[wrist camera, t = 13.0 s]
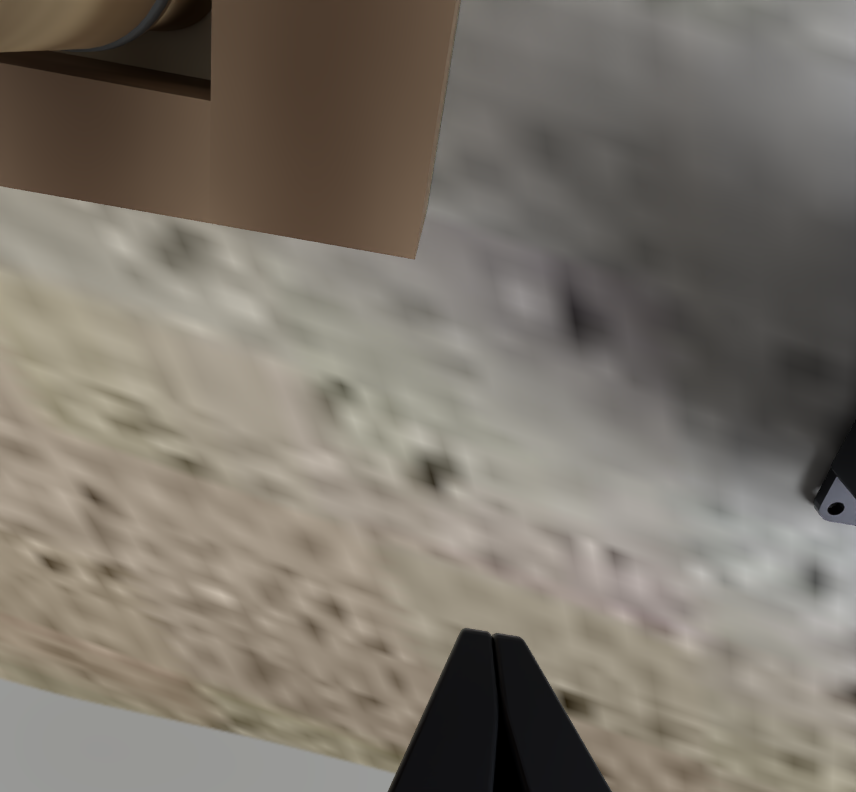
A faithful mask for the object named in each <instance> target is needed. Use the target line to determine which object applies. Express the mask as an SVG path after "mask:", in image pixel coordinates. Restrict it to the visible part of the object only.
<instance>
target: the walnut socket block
mask: <svg viewBox="0 0 856 792" xmlns="http://www.w3.org/2000/svg"><path fill="white" fill-rule="evenodd" d="M460 3H461V0H212V10H211V11H210V12H209V13H208V14H207V15H206V16H205V17H204V18H202V19H201V20H200V21H198V22H197V23H195V24H193V25H191V26H189V27H186V28H184V29H180V30H174V31H147V32H146V33H145V34H143V35H142V36H140V37H138V38H136V39H135V40H133V41H131V42H129V43H127V44H125V45H123V46H120V47H117V48H114V49H110V50H105V51H96V52H68V51H60V50H45V51H21V52H0V186H3V187H8V188H14V189H20V190H25V191H31V192H37V193H42V194H48V195H54V196H59V197H65V198H71V199H76V200H82V201H88V202H93V203H99V204H104V205H110V206H116V207H121V208H127V209H133V210H138V211H144V212H150V213H155V214H161V215H167V216H172V217H178V218H184V219H189V220H195V221H201V222H206V223H212V224H217V225H223V226H229V227H234V228H240V229H246V230H251V231H257V232H263V233H268V234H274V235H280V236H285V237H291V238H297V239H302V240H308V241H313V242H319V243H325V244H330V245H336V246H342V247H347V248H353V249H359V250H364V251H370V252H376V253H381V254H387V255H393V256H398V257H404V258H409V259H415V256H416V252H417V248H418V244H419V240H420V236H421V232H422V228H423V224H424V220H425V216H426V212H427V206H428V200H429V194H430V188H431V181H432V175H433V169H434V163H435V157H436V151H437V144H438V138H439V132H440V126H441V120H442V114H443V107H444V101H445V95H446V89H447V83H448V77H449V70H450V64H451V58H452V52H453V46H454V40H455V33H456V27H457V21H458V15H459V9H460Z"/></svg>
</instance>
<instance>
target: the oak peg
mask: <svg viewBox="0 0 856 792" xmlns="http://www.w3.org/2000/svg"><path fill="white" fill-rule="evenodd" d="M211 10H212V0H0V52H21V51H45V50H60V51H68V52H96V51H105V50H110V49H114V48H117V47H120V46H123V45H125V44H127V43H129V42H131V41H133V40H135V39H136V38H138V37H140V36H142V35H143V34H145V33H146V32H147V31H174V30H180V29H184V28H186V27H189V26H191V25H193V24H195V23H197V22H198V21H200V20H201V19H202V18H204V17H205V16H206V15H207V14H208V13H209V12H210V11H211Z"/></svg>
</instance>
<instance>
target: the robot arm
mask: <svg viewBox="0 0 856 792" xmlns="http://www.w3.org/2000/svg"><path fill="white" fill-rule="evenodd" d="M835 502H838V503H837V504H836V505H835V506H833V507H829V506H830V505H831V504H833V503H835ZM814 507H815V509H816V511H817V512H818V513H819V515H820V516H821V517H822V518H823V519H825V520H827V521H831V522H837V523H843V524H849V525H855V526H856V420H855V422H854V424H853V426H852V428H851V430H850V432H849V433H848V435H847V437H846V439H845V441H844V443H843V445H842V446H841V448H840V450H839V452H838V454H837V456H836V458H835V460H834V461H833V463H832V468H831V469H830V471H829V473H828V475H827V477H826V479H825V481H824V483H823V484H822V486H821V488H820V490H819V492H818V494H817V496H816V497H815V500H814ZM388 792H612V791H611V789H610V788H609V786H608V784H607V783H606V781H605V779H604V777H603V776H602V774H601V772H600V770H599V769H598V767H597V765H596V764H595V762H594V760H593V758H592V757H591V755H590V753H589V751H588V750H587V748H586V746H585V745H584V743H583V741H582V739H581V738H580V736H579V734H578V732H577V731H576V729H575V727H574V726H573V724H572V722H571V720H570V719H569V717H568V715H567V713H566V712H565V710H564V708H563V707H562V705H561V703H560V701H559V700H558V698H557V696H556V694H555V693H554V691H553V689H552V688H551V686H550V684H549V682H548V681H547V679H546V677H545V675H544V674H543V672H542V670H541V669H540V667H539V665H538V663H537V662H536V660H535V658H534V656H533V655H532V653H531V651H530V650H529V648H528V646H527V644H526V643H525V641H524V640H523V639H522V638H521V637H518V636H513V635H506V634H500V633H495V634H493V635H492V636H491V634H490V633H489V632H487V631H482V630H475V629H469V628H464V629H462V630H461V632H460V634H459V636H458V638H457V640H456V642H455V644H454V647H453V649H452V651H451V653H450V655H449V658H448V660H447V662H446V664H445V667H444V669H443V671H442V673H441V675H440V678H439V680H438V682H437V684H436V686H435V689H434V691H433V693H432V695H431V697H430V700H429V702H428V704H427V706H426V708H425V711H424V713H423V715H422V717H421V719H420V722H419V724H418V726H417V728H416V730H415V733H414V735H413V737H412V739H411V741H410V744H409V746H408V748H407V750H406V752H405V755H404V757H403V759H402V761H401V764H400V766H399V768H398V770H397V772H396V775H395V777H394V779H393V781H392V783H391V786H390V788H389V790H388Z"/></svg>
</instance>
